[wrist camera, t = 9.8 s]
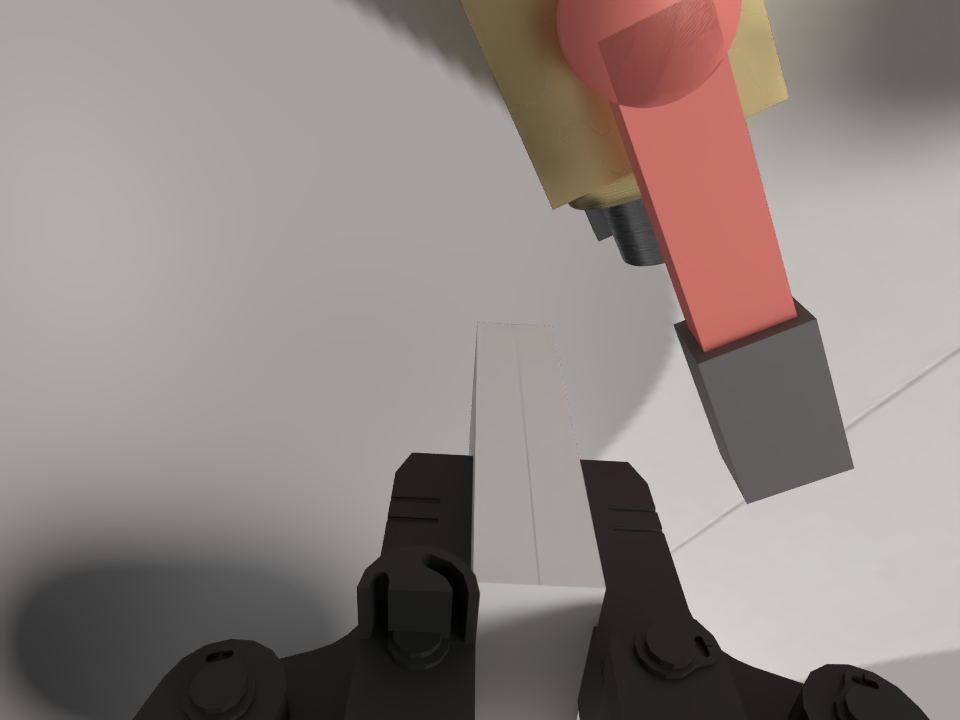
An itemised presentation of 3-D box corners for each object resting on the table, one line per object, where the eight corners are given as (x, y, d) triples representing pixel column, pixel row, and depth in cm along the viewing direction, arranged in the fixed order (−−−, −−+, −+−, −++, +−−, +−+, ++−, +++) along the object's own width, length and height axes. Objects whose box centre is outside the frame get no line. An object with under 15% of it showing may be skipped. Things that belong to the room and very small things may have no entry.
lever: (530, -30, 15) (539, -36, 13) (685, -113, 14) (721, -133, 12) (711, 457, 21) (737, 507, 19) (825, 417, 20) (865, 464, 18)
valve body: (380, -189, 21) (312, -325, 12) (586, -323, 20) (669, -579, 11) (574, 249, 28) (616, 355, 19) (738, 173, 26) (862, 252, 18)
